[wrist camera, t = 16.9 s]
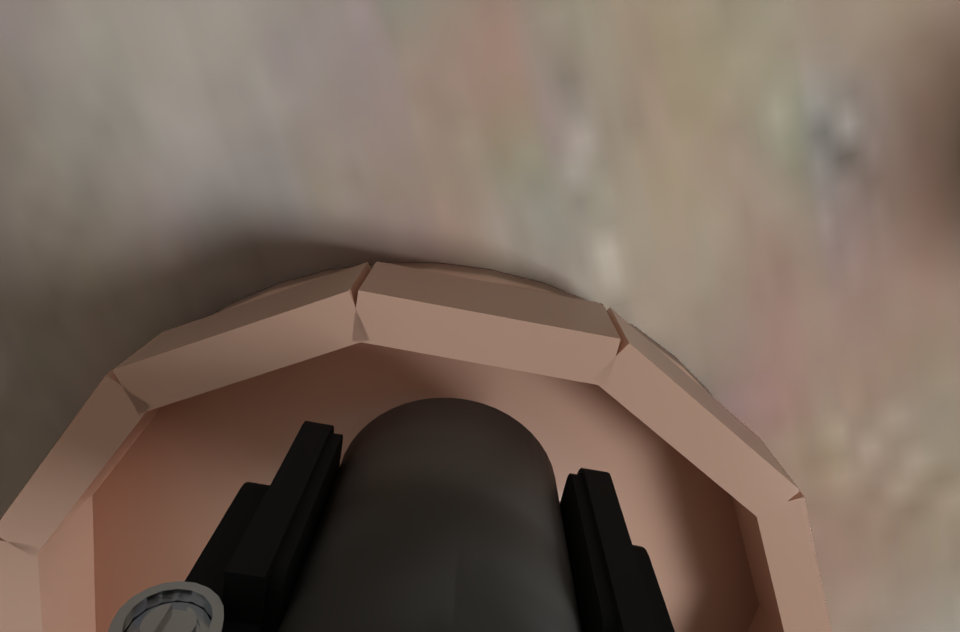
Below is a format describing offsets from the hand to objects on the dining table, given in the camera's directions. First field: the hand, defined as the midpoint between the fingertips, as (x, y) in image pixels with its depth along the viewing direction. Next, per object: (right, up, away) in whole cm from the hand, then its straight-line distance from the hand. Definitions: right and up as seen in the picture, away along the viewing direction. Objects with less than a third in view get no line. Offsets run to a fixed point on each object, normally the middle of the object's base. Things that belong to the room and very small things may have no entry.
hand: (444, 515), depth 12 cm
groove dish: (-1, -4, +5) cm, 7 cm away
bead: (0, 0, +1) cm, 1 cm away
